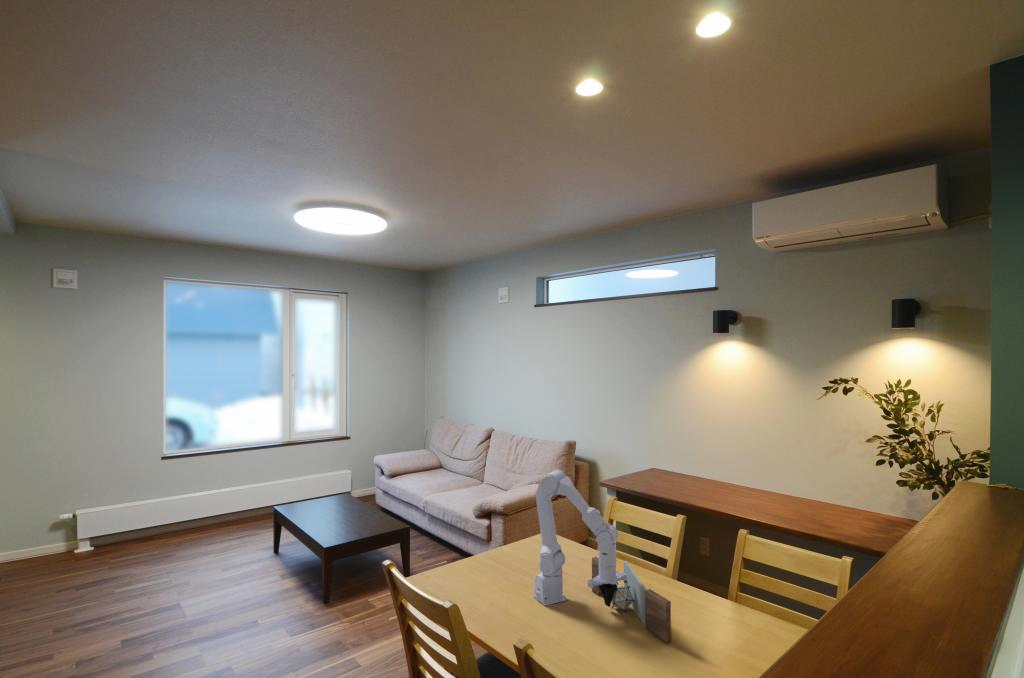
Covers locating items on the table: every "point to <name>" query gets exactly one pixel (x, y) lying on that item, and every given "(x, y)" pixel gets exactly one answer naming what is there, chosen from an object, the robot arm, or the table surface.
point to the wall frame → (648, 609)
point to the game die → (622, 597)
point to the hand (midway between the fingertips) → (607, 605)
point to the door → (635, 591)
